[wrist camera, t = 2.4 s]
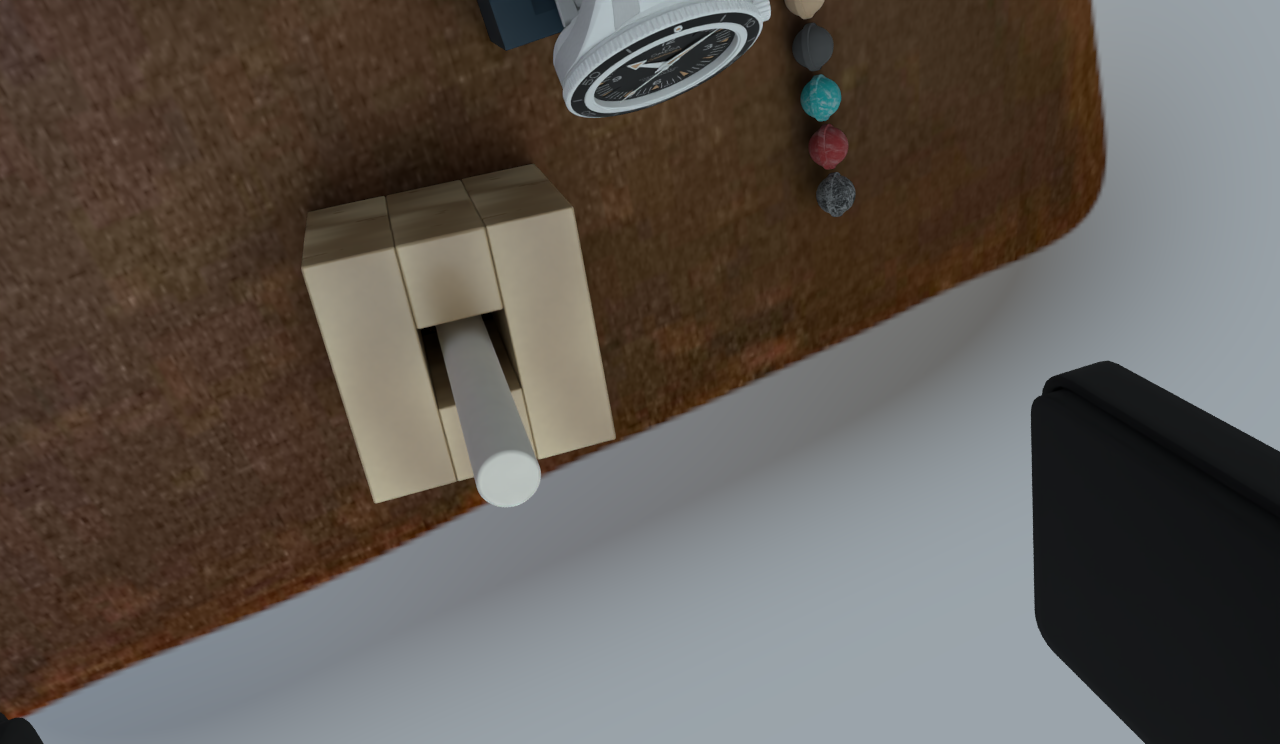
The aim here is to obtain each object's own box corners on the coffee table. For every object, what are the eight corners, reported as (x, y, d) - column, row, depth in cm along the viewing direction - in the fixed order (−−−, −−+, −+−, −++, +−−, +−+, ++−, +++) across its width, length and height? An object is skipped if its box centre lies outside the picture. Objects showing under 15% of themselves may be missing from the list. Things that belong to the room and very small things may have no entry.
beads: (827, 210, 35) (863, 207, 34) (814, 223, 34) (851, 220, 33) (789, -29, 32) (827, -38, 32) (773, -24, 31) (812, -33, 30)
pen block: (368, 417, 34) (374, 504, 28) (306, 212, 31) (300, 267, 25) (574, 364, 35) (616, 439, 30) (534, 162, 32) (573, 206, 27)
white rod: (433, 317, 33) (484, 516, 22) (423, 278, 32) (470, 460, 21) (475, 307, 33) (547, 499, 22) (465, 268, 33) (534, 443, 21)
